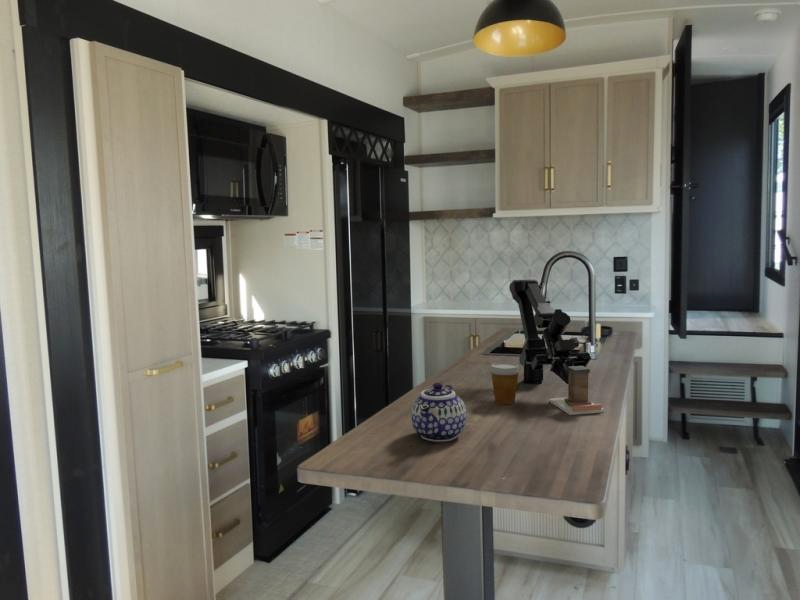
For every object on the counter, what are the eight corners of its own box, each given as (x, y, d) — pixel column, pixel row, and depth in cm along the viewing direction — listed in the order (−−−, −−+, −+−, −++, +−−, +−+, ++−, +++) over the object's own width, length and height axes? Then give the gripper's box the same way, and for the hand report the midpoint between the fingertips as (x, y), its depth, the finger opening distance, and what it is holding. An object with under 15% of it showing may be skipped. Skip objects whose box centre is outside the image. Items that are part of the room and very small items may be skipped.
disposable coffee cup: (523, 399, 218) (523, 363, 216) (515, 407, 209) (515, 369, 208) (494, 397, 222) (494, 361, 220) (486, 404, 213) (486, 367, 212)
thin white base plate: (549, 401, 215) (549, 394, 214) (581, 399, 217) (581, 392, 216) (570, 415, 200) (570, 406, 199) (604, 412, 202) (604, 404, 202)
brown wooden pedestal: (564, 402, 209) (565, 366, 208) (582, 400, 210) (583, 365, 209) (573, 407, 203) (573, 370, 202) (591, 405, 204) (592, 369, 203)
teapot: (430, 420, 197) (430, 371, 195) (479, 426, 190) (479, 375, 189) (394, 446, 174) (393, 390, 172) (448, 453, 168) (448, 396, 166)
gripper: (535, 330, 214) (549, 371, 205) (589, 327, 218) (605, 368, 208) (525, 349, 223) (538, 390, 213) (577, 346, 226) (592, 386, 217)
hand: (568, 383), depth 213 cm, fingers closed
